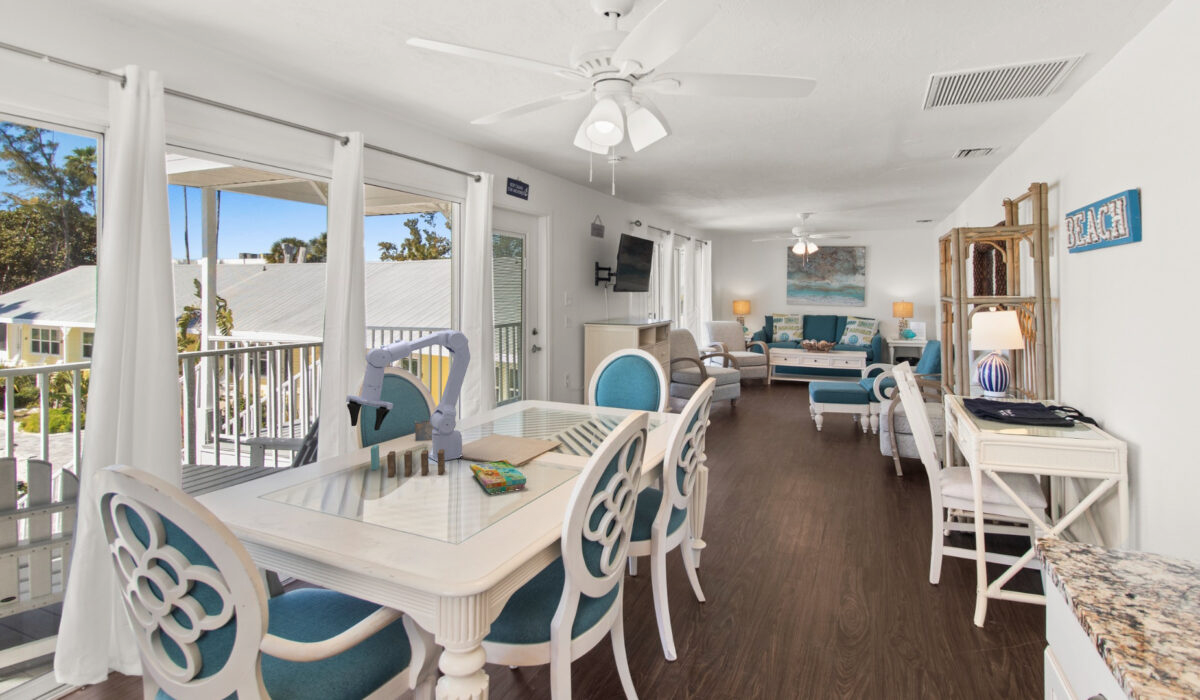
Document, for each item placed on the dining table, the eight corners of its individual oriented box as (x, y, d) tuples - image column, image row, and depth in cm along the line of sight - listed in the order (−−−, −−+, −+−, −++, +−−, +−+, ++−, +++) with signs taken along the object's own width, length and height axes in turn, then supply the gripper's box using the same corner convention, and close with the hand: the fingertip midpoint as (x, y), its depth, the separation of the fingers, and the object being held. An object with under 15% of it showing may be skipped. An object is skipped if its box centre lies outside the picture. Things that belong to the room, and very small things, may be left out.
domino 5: (444, 470, 187) (444, 449, 186) (443, 474, 183) (442, 453, 182) (439, 470, 187) (439, 449, 186) (438, 475, 182) (437, 453, 182)
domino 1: (379, 465, 192) (378, 444, 191) (376, 469, 187) (375, 448, 187) (374, 465, 191) (373, 445, 191) (371, 470, 187) (370, 448, 186)
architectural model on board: (446, 438, 228) (446, 414, 227) (446, 440, 225) (445, 415, 224) (416, 440, 226) (415, 415, 225) (415, 442, 223) (414, 417, 222)
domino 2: (396, 472, 185) (395, 451, 184) (393, 477, 180) (392, 455, 180) (390, 472, 184) (390, 451, 184) (387, 477, 180) (387, 455, 179)
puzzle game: (486, 480, 164) (469, 461, 182) (486, 497, 164) (470, 476, 182) (526, 475, 169) (506, 457, 187) (526, 491, 169) (506, 471, 187)
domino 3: (412, 472, 185) (411, 450, 185) (410, 476, 181) (409, 454, 180) (407, 472, 185) (406, 450, 184) (404, 476, 181) (404, 454, 180)
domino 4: (428, 471, 186) (428, 449, 185) (426, 475, 182) (426, 453, 181) (423, 471, 186) (422, 450, 185) (421, 475, 182) (420, 453, 181)
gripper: (344, 382, 182) (337, 425, 182) (388, 390, 181) (381, 433, 181) (355, 381, 189) (348, 422, 189) (398, 389, 188) (391, 430, 188)
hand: (365, 427), depth 186 cm, fingers open, 7 cm apart
